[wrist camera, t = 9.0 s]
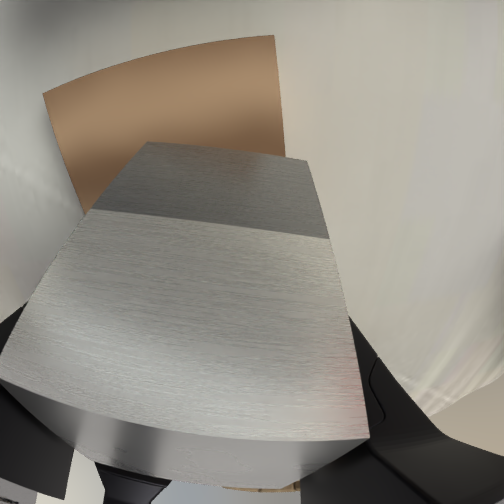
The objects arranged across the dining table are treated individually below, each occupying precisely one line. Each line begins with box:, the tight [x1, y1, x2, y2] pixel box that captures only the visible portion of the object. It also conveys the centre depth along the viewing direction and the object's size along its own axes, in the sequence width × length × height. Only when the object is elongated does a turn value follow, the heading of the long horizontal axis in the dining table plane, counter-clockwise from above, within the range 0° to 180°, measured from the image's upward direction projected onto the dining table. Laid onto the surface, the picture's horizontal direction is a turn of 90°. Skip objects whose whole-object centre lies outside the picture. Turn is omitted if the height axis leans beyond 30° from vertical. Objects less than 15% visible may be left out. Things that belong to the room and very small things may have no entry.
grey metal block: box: [0, 141, 370, 489], centre depth 8 cm, size 5×5×8 cm
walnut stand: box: [43, 35, 285, 215], centre depth 16 cm, size 12×12×3 cm
